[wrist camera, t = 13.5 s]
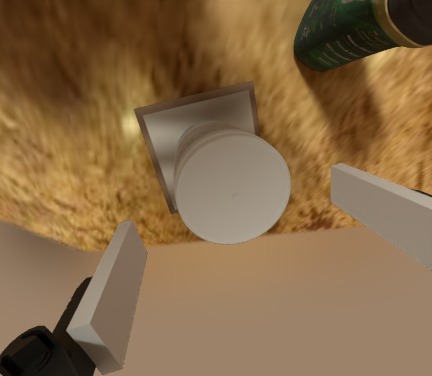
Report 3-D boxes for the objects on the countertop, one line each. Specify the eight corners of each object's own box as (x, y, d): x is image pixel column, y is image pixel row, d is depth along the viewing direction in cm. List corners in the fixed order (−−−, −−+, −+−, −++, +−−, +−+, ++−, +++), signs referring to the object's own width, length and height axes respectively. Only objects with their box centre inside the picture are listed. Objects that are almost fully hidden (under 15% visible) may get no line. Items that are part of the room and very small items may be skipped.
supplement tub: (166, 172, 30) (152, 229, 16) (190, 106, 27) (199, 109, 13) (227, 194, 32) (259, 258, 19) (255, 136, 30) (316, 162, 16)
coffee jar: (325, 80, 32) (486, 53, 15) (283, 53, 30) (416, -13, 13) (363, 10, 29) (613, -118, 12) (320, -25, 27) (553, -241, 10)
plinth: (138, 108, 30) (132, 109, 26) (246, 82, 31) (255, 79, 27) (171, 205, 36) (170, 217, 32) (260, 182, 37) (269, 190, 33)
